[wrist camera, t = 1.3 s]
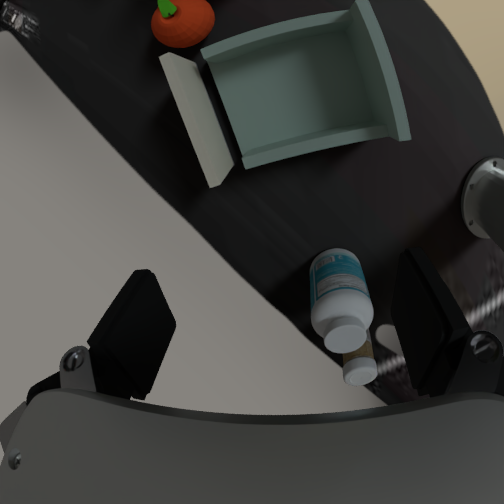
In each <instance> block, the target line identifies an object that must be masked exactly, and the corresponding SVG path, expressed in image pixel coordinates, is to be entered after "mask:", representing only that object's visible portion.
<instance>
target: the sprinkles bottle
mask: <svg viewBox="0 0 504 504" xmlns="http://www.w3.org/2000/svg"><path fill="white" fill-rule="evenodd" d="M366 334H367V338H366V341H365V343H364V344H363V345H362V346H361V347H360V348H358V349H357V350H355V351H352V352H348V353H343V363H344V366H343V378H344V381H345V383H347V384H349V385H352V386H359V385H364V384H367V383H369V382H371V381H373V380H374V379H375V378H376V376H377V366H376V362H375V359H374V356H373V351H372V343H371V338H370V333H369V328H368V329H367V330H366Z"/></svg>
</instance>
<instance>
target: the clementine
mask: <svg viewBox="0 0 504 504" xmlns="http://www.w3.org/2000/svg"><path fill="white" fill-rule="evenodd" d="M214 21H215V15H214V11H213V9H212V7H211V5H210V4H209V3H208V2H207V1H206V0H158V8H157V9H156V10H155V12H154V14H153V16H152V21H151V28H152V31H153V34H154V36H155V37H156V38H157V39H158V41H160V42H161V43H163V44H165V45H166V46H169V47H174V48H185V47H189V46H193V45H195V44H197V43H199V42H201V41H202V40H203V39H204V38H206V37H207V35H208V34H209V33H210V32H211V30H212V28H213V26H214Z"/></svg>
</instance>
